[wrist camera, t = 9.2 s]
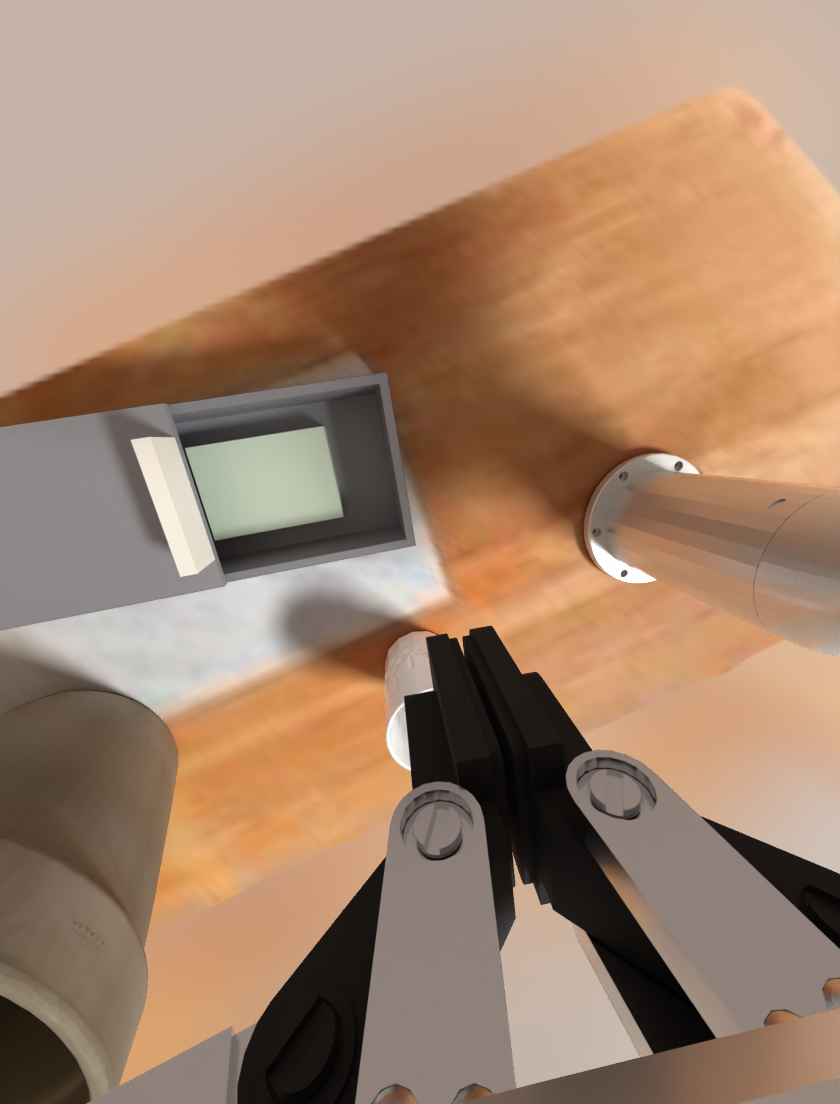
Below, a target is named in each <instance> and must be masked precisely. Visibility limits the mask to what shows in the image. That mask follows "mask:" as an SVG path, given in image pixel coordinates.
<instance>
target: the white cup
mask: <svg viewBox="0 0 840 1104" xmlns="http://www.w3.org/2000/svg"><path fill="white" fill-rule="evenodd" d="M435 635H436V634H434V633H431V632H429V631H417V632H411V633H409V634H407V635H404V636H402V637H400V638H398V639H397V641H396V642H395V643H394V644H393V645H392V646H391V648H390V649H389V650H388V654H387V657H386V661H385V684H384V685H385V729H386V744H387V747H388V750H389V752H390V754H391V756H392V757H393V759H394V760H395V761H396V762H397V763H398V764H399V765H401V766H402V767H404V768H406V769H408V770H410V771H411V767H410V756H409V746H408V735H407V725H406V715H405V704H404V696H406V695H412V694H417V693H423V692H428V691H434V690H433V684H432V677H431V670H430V664H429V657H428V650H427V644H426V637H429V636H435Z"/></svg>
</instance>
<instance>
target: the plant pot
mask: <svg viewBox="0 0 840 1104" xmlns="http://www.w3.org/2000/svg"><path fill="white" fill-rule="evenodd" d="M177 769H178V751H177V747H176V743H175V740H174V738H173V735H172V734H171V732H170V730H169V729H168V727H167V726H166V725H165V724H164V722H163V721H162V720H161V719H160V718H159V717H158V716H156V715H155V714H154V713H153V712H152V711H150V710H149V709H147V708H146V707H144V706H143V705H141V704H139V703H137V702H135V701H133V700H131V699H128V698H126V697H123V696H120V695H116V694H112V693H107V692H101V691H89V690H78V691H67V692H61V693H57V694H53V695H49V696H46V697H44V698H41V699H38V700H35V701H32V702H29V703H27V704H24V705H22V706H20V707H17V708H15V709H13V710H10V711H8V712H6V713H4V714H1V715H0V1104H87V1103H89V1102H90V1101H92V1100H94V1099H96V1098H98V1097H100V1096H102V1095H104V1094H105V1093H107V1092H109V1091H111V1090H113V1089H115V1088H117V1087H119V1084H120V1081H121V1078H122V1074H123V1071H124V1068H125V1065H126V1062H127V1059H128V1056H129V1053H130V1050H131V1046H132V1043H133V1040H134V1037H135V1034H136V1031H137V1028H138V1025H139V1022H140V1018H141V1015H142V1012H143V1009H144V1005H145V1000H146V994H147V987H148V969H147V961H146V955H145V951H144V947H145V942H146V937H147V933H148V928H149V923H150V919H151V914H152V909H153V904H154V899H155V893H156V888H157V882H158V877H159V872H160V866H161V861H162V855H163V850H164V845H165V839H166V834H167V828H168V823H169V817H170V812H171V806H172V801H173V795H174V788H175V782H176V776H177Z"/></svg>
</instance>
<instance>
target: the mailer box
mask: <svg viewBox="0 0 840 1104" xmlns="http://www.w3.org/2000/svg"><path fill="white" fill-rule="evenodd" d="M169 408H170V411H171V414H172V417H173V420H174V424H175V427H176V430H177V433H178V436H179V439H180V442H181V445H182V448H183V451H184V454H185V457H186V460H187V463H188V466H189V469H190V472H191V475H192V478H193V482H194V485H195V488H196V491H197V494H198V497H199V500H200V503H201V506H202V509H203V512H204V515H205V518H206V521H207V524H208V527H209V530H210V533H211V536H212V539H213V543H214V546H215V549H216V552H217V555H218V558H219V561H220V564H221V567H222V570H223V573H224V576H225V579H226V582H231V581H236V580H241V579H246V578H251V577H257V576H262V575H267V574H272V573H277V572H282V571H287V570H292V569H298V568H303V567H308V566H313V565H318V564H323V563H328V562H333V561H338V560H344V559H349V558H354V557H359V556H364V555H369V554H374V553H379V552H385V551H390V550H395V549H400V548H405V547H410V546H415V545H416V544H415V538H414V532H413V526H412V520H411V514H410V508H409V502H408V496H407V490H406V484H405V478H404V472H403V466H402V460H401V454H400V448H399V442H398V436H397V430H396V424H395V419H394V413H393V407H392V401H391V395H390V389H389V383H388V377H387V372H386V373H379V374H373V375H366V376H359V377H352V378H346V379H339V380H332V381H325V382H319V383H312V384H305V385H298V386H292V387H285V388H278V389H271V390H265V391H258V392H251V393H244V394H238V395H231V396H224V397H217V398H211V399H204V400H197V401H190V402H184V403H177V404H170V405H169Z"/></svg>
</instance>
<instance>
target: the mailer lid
mask: <svg viewBox="0 0 840 1104" xmlns="http://www.w3.org/2000/svg"><path fill="white" fill-rule="evenodd" d="M226 584H227V582H226V579H225V576H224V573H223V570H222V567H221V564H220V561H219V558H218V555H217V552H216V549H215V546H214V543H213V539H212V536H211V533H210V530H209V527H208V524H207V521H206V518H205V515H204V512H203V509H202V506H201V503H200V500H199V497H198V494H197V491H196V488H195V485H194V482H193V478H192V475H191V472H190V469H189V466H188V463H187V460H186V457H185V454H184V451H183V448H182V445H181V442H180V439H179V436H178V433H177V430H176V427H175V424H174V420H173V417H172V414H171V411H170V408H169V405H168V404H166V403H161V404H154V405H147V406H140V407H133V408H127V409H120V410H113V411H106V412H100V413H93V414H86V415H79V416H72V417H66V418H59V419H52V420H45V421H39V422H32V423H25V424H18V425H11V426H5V427H0V630H5V629H10V628H15V627H20V626H25V625H30V624H36V623H41V622H46V621H51V620H56V619H61V618H66V617H71V616H76V615H81V614H87V613H92V612H97V611H102V610H107V609H112V608H117V607H122V606H127V605H132V604H137V603H143V602H148V601H153V600H158V599H163V598H168V597H173V596H178V595H183V594H188V593H194V592H199V591H204V590H209V589H214V588H219V587H224V586H225V585H226Z"/></svg>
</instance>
